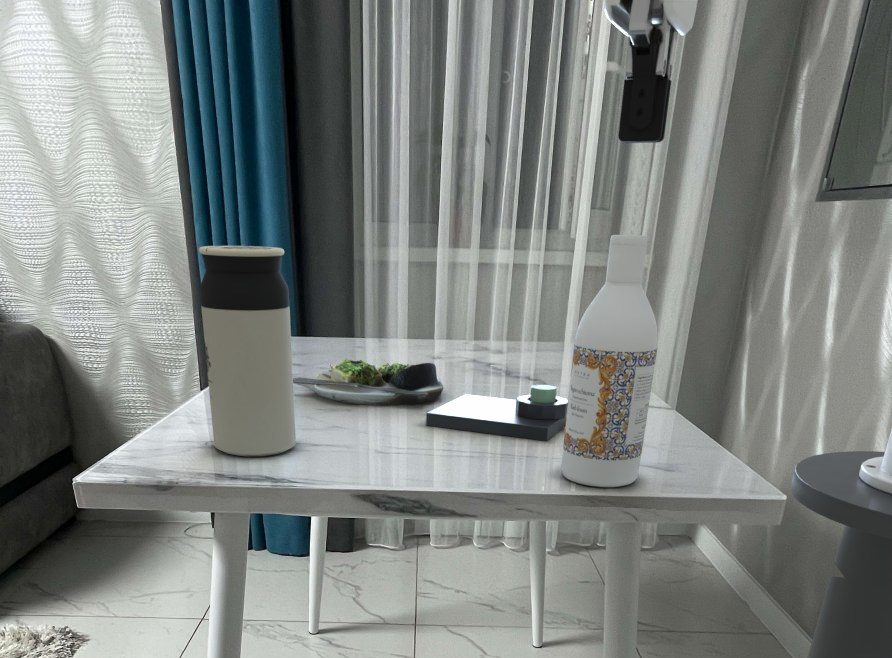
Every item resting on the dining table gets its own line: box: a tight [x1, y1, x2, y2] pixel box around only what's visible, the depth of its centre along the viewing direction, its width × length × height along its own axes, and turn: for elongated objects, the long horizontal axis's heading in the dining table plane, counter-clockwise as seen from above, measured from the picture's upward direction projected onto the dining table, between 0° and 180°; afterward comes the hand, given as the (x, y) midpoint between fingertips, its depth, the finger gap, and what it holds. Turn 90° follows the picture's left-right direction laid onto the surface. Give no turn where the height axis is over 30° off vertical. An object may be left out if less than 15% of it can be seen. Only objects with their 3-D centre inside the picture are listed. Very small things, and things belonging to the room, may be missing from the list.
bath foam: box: [560, 234, 659, 488], centre depth 70 cm, size 7×7×20 cm
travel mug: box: [198, 245, 297, 457], centre depth 76 cm, size 8×8×18 cm
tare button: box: [529, 384, 557, 403], centre depth 90 cm, size 3×3×2 cm
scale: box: [425, 393, 568, 442], centre depth 92 cm, size 14×12×3 cm
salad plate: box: [293, 358, 444, 406], centre depth 104 cm, size 19×18×5 cm
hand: (640, 141), depth 63 cm, fingers closed
